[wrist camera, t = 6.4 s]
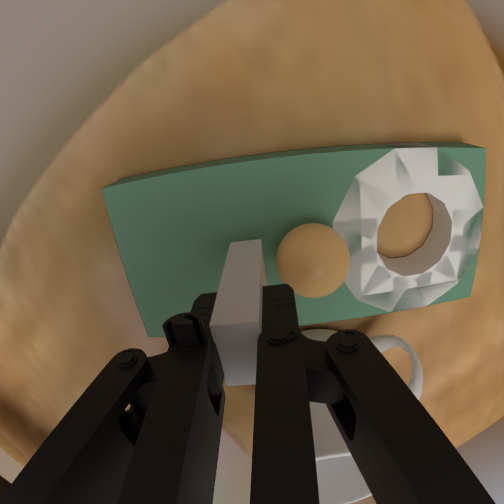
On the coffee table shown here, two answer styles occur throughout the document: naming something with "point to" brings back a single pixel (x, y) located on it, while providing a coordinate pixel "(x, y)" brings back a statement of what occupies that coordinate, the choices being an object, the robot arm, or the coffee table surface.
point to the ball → (313, 260)
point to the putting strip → (298, 213)
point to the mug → (331, 442)
